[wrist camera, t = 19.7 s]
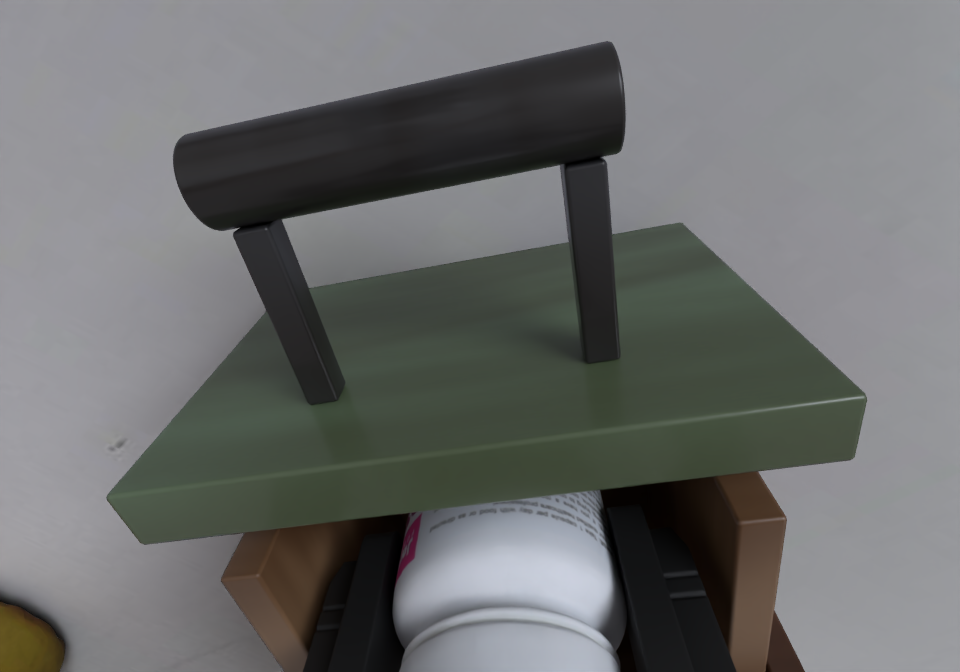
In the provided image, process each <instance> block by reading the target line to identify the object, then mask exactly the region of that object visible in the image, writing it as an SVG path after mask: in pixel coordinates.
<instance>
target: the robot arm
mask: <svg viewBox="0 0 960 672" xmlns="http://www.w3.org/2000/svg"><path fill="white" fill-rule="evenodd" d="M607 518H608V526H609V531H610V535H611V539H612V543H613V547H614V551H615V556H616V560H617V564H618V568H619V572H620V577H621V581H622V585H623V590H624V594H625V600H626V607H627V623H626V626H627V630H628V635H629V639H630V644H631V648H632V652H633V657H634V661H635V666H636V670H637V672H737V671H736V669H735V666H734V663H733V661H732V658H731V656H730V653H729V650H728V648H727V645H726V643H725V640H724V638H723V635H722V632H721V630H720V627H719V625H718V622H717V619H716V617H715V614H714V612H713V609H712V606H711V604H710V601H709V599H708V597H707V595H706V591H705V588H704V586H703V583H702V581H701V578H700V576H699V575H698V570H697V568H696V565H695V562H694V560H693V557H692V555H691V552H690V550H689V547H688V546H687V545H686V544H685V543H684V541H683V540H682V539H681V538H680V537H679V536H678V535H677V534H676V533H675V532H674V530H673V529H672V528H671V527H666V528H657V529H649V528H648V525H647V522H646V519H645V515H644V512H643V509H642V507H641V505H640V504H635V505H626V506H617V507H608V508H607ZM402 546H403V540H402V537H401V535H400V533H399V532H398V531H394V532H386V533H377V534H369V535H366V536H365V537H364V538H363V541H362V544H361V548H360V551H359V555H358V559H357V561H349V562H344V563H343V565H342V566H341V568H340V569H339V571H338V572H337V574H336V575H335V576H334V578H333V579H332V581H331V582H330V584H329V587H328V591H327V594H326V597H325V600H324V604H323V607H322V608H323V611H322V612H321V613H320V617H319V620H318V623H317V627H316V628H317V631H316V632H315V633H314V636H313V640H312V643H311V646H310V650H309V653H308V656H307V659H306V663H305V666H304V669H303V672H399V671H400V668H401V663H402V658H403V655H404V652H405V649H404V648H403V646H402V645H401V643H400V641H399V638H398V636H397V634H396V631H395V626H394V622H393V615H392V607H393V597H394V589H395V583H396V577H397V573H398V567H399V562H400V556H401V551H402Z"/></svg>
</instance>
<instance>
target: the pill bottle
mask: <svg viewBox="0 0 960 672" xmlns="http://www.w3.org/2000/svg"><path fill="white" fill-rule="evenodd" d="M392 615H393V622H394V626H395V631H396V634H397V636H398V638H399V641H400V643H401V645H402V646H403V648H404V649H405V652H404V655H403V658H402V663H401V668H400V671H399V672H621V671H620V660H619V657H618V655H617V652H616V650H617V649H618V647H619V645H620V643H621V641H622V639H623V636H624V633H625V629H626V623H627V607H626V600H625V594H624V590H623V585H622V581H621V577H620V572H619V568H618V564H617V560H616V556H615V551H614V547H613V543H612V539H611V535H610V531H609V526H608V522H607V518H606V513H605V509H604V505H603V501H602V497H601V493H600V490H598V491H590V492H581V493H573V494H565V495H556V496H548V497H540V498H531V499H523V500H515V501H506V502H498V503H490V504H481V505H473V506H464V507H456V508H448V509H439V510H431V511H423V512H414V513H409V515H408V518H407V523H406V529H405V536H404V541H403V546H402V551H401V556H400V562H399V567H398V573H397V577H396V583H395V589H394V597H393V607H392Z"/></svg>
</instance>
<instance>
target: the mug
mask: <svg viewBox="0 0 960 672" xmlns="http://www.w3.org/2000/svg"><path fill="white" fill-rule="evenodd" d="M64 654H65V644H64V641H63V640H61V639H59V638H58V637H57V636H56V634H55V631H54V630H53V628H51V626H50V625H49V624H47V623H46V622H44V621H43V620H41V619H38V618H37V617H35V616H33V615H31V614H30V613H28V612H27V611H25V610H24V609H23V608H20V607H18V606H15V605H9V604H5V603H3V602H0V672H59V671H60V669H61V666H62V663H63V660H64Z"/></svg>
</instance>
